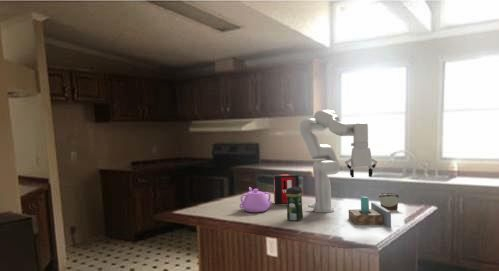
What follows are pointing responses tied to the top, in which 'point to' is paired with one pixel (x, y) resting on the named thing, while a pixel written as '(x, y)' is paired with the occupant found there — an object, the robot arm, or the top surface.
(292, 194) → the coffee jar
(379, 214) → the socket block
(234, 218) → the top surface
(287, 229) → the top surface
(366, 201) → the dowel
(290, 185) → the cleaning product box
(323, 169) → the robot arm
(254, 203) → the teapot
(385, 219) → the backstop wall
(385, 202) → the food container
